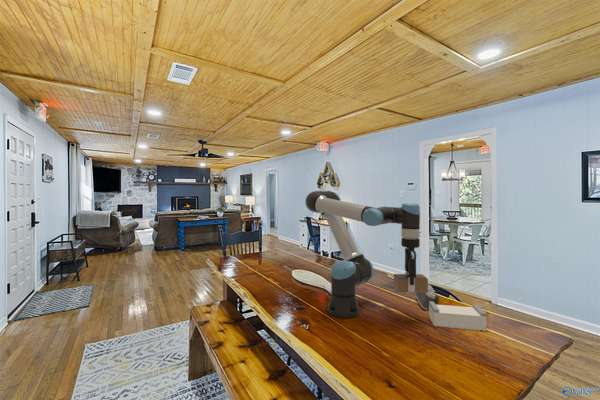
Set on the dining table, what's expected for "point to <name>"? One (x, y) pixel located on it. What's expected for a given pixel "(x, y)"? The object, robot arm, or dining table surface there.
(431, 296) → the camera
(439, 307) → the stand
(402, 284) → the case
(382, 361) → the dining table surface
